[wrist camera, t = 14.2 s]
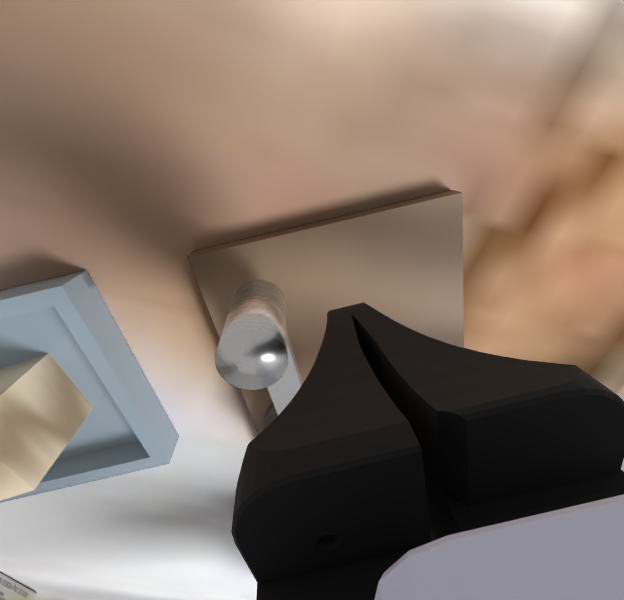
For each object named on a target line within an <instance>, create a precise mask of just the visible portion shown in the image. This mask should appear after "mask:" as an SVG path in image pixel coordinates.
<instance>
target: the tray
mask: <svg viewBox="0 0 624 600" xmlns="http://www.w3.org/2000/svg"><path fill="white" fill-rule="evenodd" d="M47 353H49V354H50V355H51V357H52V358H53V359H54V360H55V361H56V363H57V364H58V365H59V366H60V367H61V369H62V370H63V371H64V372H65V373H66V375H67V376H68V377H69V378H70V380H71V381H72V382H73V383H74V384H75V386H76V387H77V388H78V389H79V390H80V392H81V393H82V394H83V395H84V396H85V398H86V399H87V400H88V401H89V402H90V404H91V405H92V406H93V407H94V408H93V409H92V410H91V412H90V413H89V415H88V416H87V417H86V419H85V420H84V422H83V423H82V424H81V426H80V427H79V428H78V430H77V431H76V433H75V434H74V435H73V437H72V438H71V440H70V441H69V442H68V444H67V445H66V447H65V448H64V449H63V451H62V452H61V454H60V455H59V456H58V458H57V459H56V460H55V462H54V463H53V465H52V466H51V467H50V469H49V470H48V472H47V473H46V474H45V476H44V477H43V479H42V480H41V481H40V483H39V484H38V486H37V487H36V488H35V490H33V491H30V492H26V493H23V494H20V495H17V496H14V497H10V498H7V499H4V500H1V501H0V502H5V501H9V500H13V499H18V498H22V497H26V496H31V495H35V494H39V493H44V492H48V491H52V490H57V489H61V488H65V487H70V486H74V485H78V484H82V483H87V482H91V481H95V480H100V479H104V478H108V477H113V476H117V475H121V474H126V473H130V472H134V471H139V470H143V469H147V468H152V467H156V466H160V465H165V464H169V463H170V460H171V457H172V454H173V451H174V448H175V445H176V443H177V440H178V437H179V436H178V434H177V432H176V430H175V428H174V427H173V425H172V423H171V421H170V419H169V418H168V416H167V414H166V412H165V410H164V409H163V407H162V405H161V403H160V401H159V400H158V398H157V396H156V394H155V392H154V391H153V389H152V387H151V385H150V383H149V382H148V380H147V378H146V376H145V374H144V373H143V371H142V369H141V367H140V365H139V364H138V362H137V360H136V358H135V356H134V355H133V353H132V351H131V349H130V347H129V346H128V344H127V342H126V340H125V338H124V337H123V335H122V333H121V331H120V329H119V327H118V326H117V324H116V322H115V320H114V318H113V317H112V315H111V313H110V311H109V309H108V308H107V306H106V304H105V302H104V300H103V299H102V297H101V295H100V293H99V291H98V290H97V288H96V286H95V284H94V282H93V281H92V279H91V277H90V275H89V273H88V272H87V270H85V271H81V272H77V273H73V274H68V275H64V276H60V277H56V278H51V279H47V280H43V281H39V282H35V283H30V284H26V285H22V286H18V287H13V288H9V289H5V290H1V291H0V369H2V368H5V367H8V366H11V365H14V364H17V363H20V362H23V361H26V360H29V359H32V358H35V357H38V356H41V355H44V354H47Z"/></svg>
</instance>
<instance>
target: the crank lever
mask: <svg viewBox="0 0 624 600" xmlns="http://www.w3.org/2000/svg"><path fill="white" fill-rule="evenodd" d="M215 364H216V368H217V370H218V372H219V374H220V375H221V377H222V378H223V379H224V380H225V381H227V382H228V383H230V384H231V385H233V386H235V387H238V388H241V389H247V390H257V389H263V388H266V387H267V388H268V391H269V393H270V396H271V399H272V401H273V404H274V406H275V409H276V411H277V414H278V415H279V414H280V413H281V412H282V411H283V410H284V409H285V407H286V406H287V405H288V404H289V402H290V401H291V400H292V399H293V397H294V396H295V395H296V393H297V392H298V390H299V389H300V387H301V385H302V384H303V380H302V377H301V374H300V371H299V368H298V365H297V362H296V359H295V355H294V352H293V349H292V346H291V343H290V340H289V337H288V334H287V321H286V301H285V297H284V294H283V293H282V291H281V290H280V289H279V288H278V287H277V286H276V285H275V284H273V283H271V282H269V281H266V280H251V281H248V282H246V283H244V284H242V285H241V286H240V287H239V288H238V289H237V290H236V292H235V294H234V296H233V300H232V303H231V306H230V309H229V312H228V316H227V319H226V322H225V325H224V328H223V332H222V335H221V338H220V341H219V345H218V348H217V351H216V354H215Z"/></svg>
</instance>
